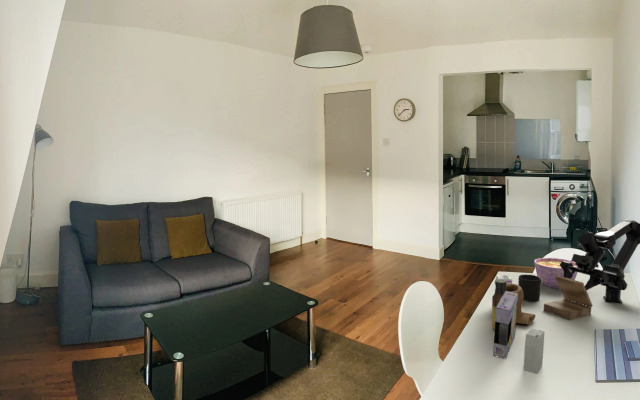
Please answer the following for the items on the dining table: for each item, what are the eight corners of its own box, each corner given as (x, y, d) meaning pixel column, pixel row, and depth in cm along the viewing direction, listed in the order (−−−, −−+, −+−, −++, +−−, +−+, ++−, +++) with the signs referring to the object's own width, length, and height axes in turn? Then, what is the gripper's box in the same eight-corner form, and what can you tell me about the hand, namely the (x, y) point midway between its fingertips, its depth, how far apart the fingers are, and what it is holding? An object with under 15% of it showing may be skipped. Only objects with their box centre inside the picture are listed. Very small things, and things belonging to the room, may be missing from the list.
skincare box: (528, 362, 146) (529, 327, 144) (543, 366, 143) (545, 330, 141) (522, 370, 141) (524, 333, 139) (538, 374, 138) (539, 337, 137)
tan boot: (489, 322, 178) (490, 286, 176) (496, 313, 188) (497, 278, 186) (531, 330, 170) (532, 292, 168) (535, 320, 180) (537, 284, 178)
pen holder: (544, 299, 203) (545, 278, 202) (533, 303, 198) (534, 281, 197) (524, 293, 211) (525, 273, 210) (513, 298, 206) (514, 276, 204)
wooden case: (564, 305, 195) (564, 298, 195) (590, 314, 185) (591, 307, 184) (543, 310, 190) (543, 303, 190) (569, 320, 179) (570, 313, 179)
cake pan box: (507, 361, 147) (509, 309, 145) (491, 357, 150) (492, 306, 147) (516, 339, 163) (518, 292, 161) (501, 336, 166) (503, 290, 164)
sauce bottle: (509, 329, 172) (511, 279, 169) (510, 335, 166) (512, 284, 163) (490, 327, 174) (492, 277, 171) (491, 333, 168) (493, 282, 166)
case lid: (564, 298, 195) (566, 296, 196) (591, 307, 184) (593, 305, 185) (554, 276, 191) (557, 274, 191) (581, 284, 180) (583, 281, 180)
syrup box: (512, 312, 188) (513, 279, 186) (497, 311, 189) (498, 278, 187) (509, 307, 194) (510, 275, 192) (494, 307, 195) (495, 274, 193)
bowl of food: (527, 279, 233) (528, 257, 232) (568, 280, 230) (569, 258, 229) (541, 291, 214) (542, 268, 212) (585, 292, 211) (587, 269, 209)
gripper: (563, 242, 196) (544, 270, 193) (606, 251, 179) (586, 282, 176) (574, 258, 200) (556, 285, 197) (617, 268, 183) (598, 298, 180)
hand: (573, 287), depth 187 cm, fingers open, 9 cm apart
